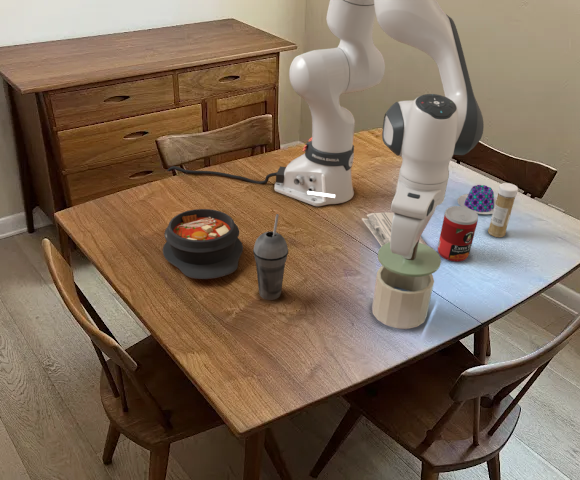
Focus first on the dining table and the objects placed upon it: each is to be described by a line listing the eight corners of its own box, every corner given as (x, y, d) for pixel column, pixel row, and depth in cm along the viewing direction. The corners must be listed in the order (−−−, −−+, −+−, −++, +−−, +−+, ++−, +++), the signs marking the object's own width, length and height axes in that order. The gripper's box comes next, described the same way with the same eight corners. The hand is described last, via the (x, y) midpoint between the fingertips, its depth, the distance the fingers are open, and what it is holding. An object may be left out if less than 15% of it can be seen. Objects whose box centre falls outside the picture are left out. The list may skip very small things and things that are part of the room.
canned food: (450, 265, 144) (459, 225, 137) (430, 248, 150) (438, 209, 143) (475, 258, 147) (485, 218, 140) (454, 242, 153) (463, 203, 146)
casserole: (156, 233, 150) (152, 203, 145) (230, 224, 155) (229, 194, 150) (172, 291, 131) (168, 259, 126) (255, 278, 136) (255, 247, 131)
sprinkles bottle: (508, 235, 157) (522, 188, 148) (496, 239, 154) (510, 192, 146) (495, 227, 160) (508, 180, 151) (483, 231, 157) (495, 184, 149)
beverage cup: (252, 285, 134) (252, 205, 122) (285, 285, 135) (288, 205, 123) (253, 306, 128) (253, 223, 116) (287, 305, 129) (291, 223, 117)
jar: (364, 320, 126) (369, 283, 120) (381, 291, 134) (387, 255, 129) (417, 336, 122) (425, 299, 117) (431, 306, 131) (439, 269, 125)
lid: (368, 269, 118) (371, 246, 115) (388, 239, 127) (391, 217, 124) (431, 286, 114) (436, 263, 111) (446, 254, 123) (451, 232, 120)
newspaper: (359, 220, 159) (361, 212, 158) (402, 221, 163) (404, 212, 161) (388, 267, 142) (391, 258, 140) (436, 267, 145) (438, 258, 143)
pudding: (499, 220, 163) (503, 202, 160) (454, 211, 166) (458, 194, 162) (502, 200, 172) (506, 183, 169) (459, 192, 175) (463, 176, 172)
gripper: (419, 163, 119) (409, 224, 128) (388, 207, 104) (378, 273, 113) (451, 170, 118) (438, 231, 126) (423, 216, 102) (411, 282, 111)
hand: (410, 252), depth 119 cm, fingers closed on lid, 2 cm apart
